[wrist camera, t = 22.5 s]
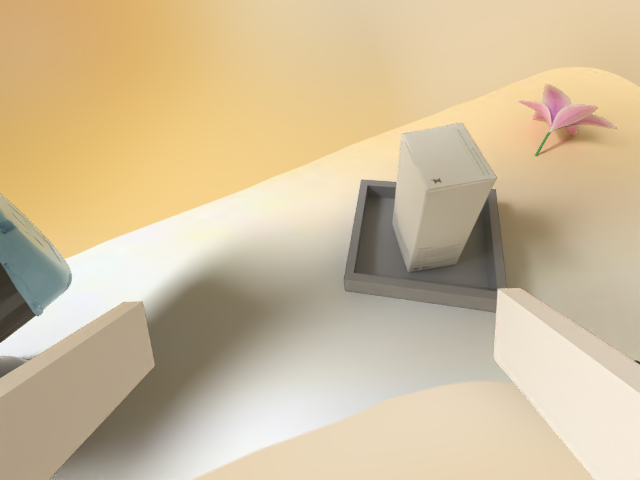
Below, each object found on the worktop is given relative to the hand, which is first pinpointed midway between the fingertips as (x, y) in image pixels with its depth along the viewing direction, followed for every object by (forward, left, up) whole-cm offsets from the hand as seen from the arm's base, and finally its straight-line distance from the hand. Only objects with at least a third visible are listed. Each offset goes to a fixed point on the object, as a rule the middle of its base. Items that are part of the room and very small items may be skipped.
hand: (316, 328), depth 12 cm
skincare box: (+7, +21, -26) cm, 34 cm away
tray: (+7, +21, -26) cm, 34 cm away
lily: (+26, +43, -27) cm, 57 cm away
